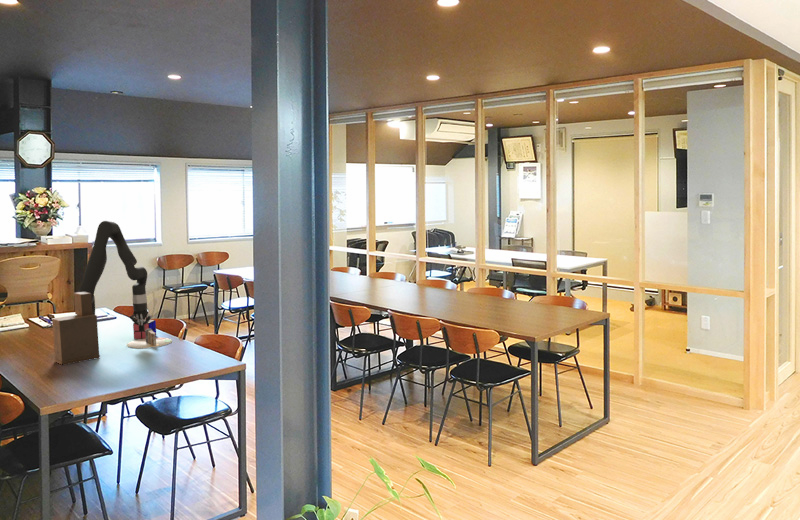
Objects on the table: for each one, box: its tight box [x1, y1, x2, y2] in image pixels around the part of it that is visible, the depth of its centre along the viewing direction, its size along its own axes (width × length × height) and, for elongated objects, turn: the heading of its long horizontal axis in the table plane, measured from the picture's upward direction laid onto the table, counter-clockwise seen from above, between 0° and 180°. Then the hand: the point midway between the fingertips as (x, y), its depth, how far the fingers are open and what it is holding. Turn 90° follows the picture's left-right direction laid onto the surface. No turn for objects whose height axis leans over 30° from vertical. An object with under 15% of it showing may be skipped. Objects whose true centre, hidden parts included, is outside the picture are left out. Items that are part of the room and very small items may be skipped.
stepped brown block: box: [51, 291, 101, 366], centre depth 334 cm, size 19×14×35 cm
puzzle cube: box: [132, 319, 157, 340], centre depth 387 cm, size 10×10×10 cm
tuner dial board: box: [126, 336, 173, 349], centre depth 370 cm, size 25×25×1 cm
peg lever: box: [145, 329, 157, 346], centre depth 366 cm, size 15×4×8 cm, turn 35°
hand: (142, 331), depth 361 cm, fingers closed
